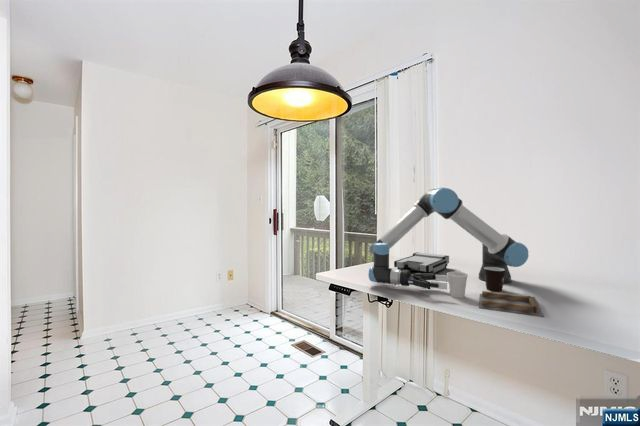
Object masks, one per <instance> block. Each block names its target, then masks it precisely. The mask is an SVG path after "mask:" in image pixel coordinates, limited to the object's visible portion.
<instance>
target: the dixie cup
mask: <svg viewBox="0 0 640 426" xmlns="http://www.w3.org/2000/svg"><path fill="white" fill-rule="evenodd" d="M446 274H447V276H448V281H449V282H448V286H449V296H450V297H451V298H453V299H454V298H456V299H463V298H465V295H466V287H467V281H468V276H469V274H468V273H465V272H462V271H448V272H447V273H446Z"/></svg>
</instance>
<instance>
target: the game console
mask: <svg viewBox="0 0 640 426" xmlns="http://www.w3.org/2000/svg"><path fill="white" fill-rule="evenodd" d="M449 263H450V255H443V254H435V253H429V252H427V253H426V252H425V253H424V252H419V251H418V252H417V251H416V252H413V253H412V255H409V256H407V257H404V258H401V259H398V260H395V261H394V262H393V267H394V268H396V269H401V270H409V271H410V273H412V272H414V271H418V273H436V274H438V272H439V273H440V271H441V272H442V270H443V271H444V269H445V270H447V267H448V264H449Z"/></svg>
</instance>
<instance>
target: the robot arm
mask: <svg viewBox="0 0 640 426" xmlns="http://www.w3.org/2000/svg"><path fill="white" fill-rule="evenodd" d="M463 203H464V202H463V200H462V199H460V198H459V196H458V194H457V193H456V192H455V191H454V190H453V189H451V188H447V187H439V188H432V189H429V190H428V191H426V192H425V193H424V194H422V196H421V197H420V198H419V199H417V201H416V202H415V203H414V204H413V207H412V208H411V209H410V210H409V211H408V212H407V213H405V214H404V215H403V217H402V218H400V219H399V220H398V221H397V222H396V223H395V224H394V225H393V226H391V228H389V229H388V230H387V231H386V232H385V233H384V234H383V235H382V236H381V237H380V238H379V239H378V240H377V241H376V242H374V243H372V244H370V246H369V249H368V250H369V254H370V256H371V257H372V258H373V266H370V267H369V269H368V272H367V273H368V274H367V275H368V278H369V281H370V282H373V283H378V284H388V285H394V287H395V286H400V285H401V286H402V287H403V286H405V287H409V286H410V285H411V286H415V287H420V288H423V289H425V290H431V288H432V289H439V290H447V291H448V283H449V281H448V275H443V274H437V273H419V272H414V273H413V274H411V272H410V271H409V270H401V269H397V268H390V249H392V247H393V246H395V245H396V244H397V243H398V242H399V241H400V240H401V239H402V238H403V237H405V236H406V234H408V233H409V232H410V231H411V230H412V229H413V228H415V227H416V225H418V224H419V223H420V222H421V221H422V220H423V219H424V218H428V217H429V216H430V215H431V214H433V213H436V214H438V215H439V216H441V217H442V218H443V219H445V220H451V221H453V223H456V225H458V227H460V228H462V229H463V230H464V231H466V232H467V233H468V234H469V235H470V236H472V237H473V238H474V239H476V240H477V241H479V242H480V243H481V244H482V257H481V258H482V260H481V261H482V264H481V267H480V269H479V271H478V279H479V280H481V281H484V282H486V280H485V271H484V268H485V267H497V268H502V269H505V274H504V281H503V284H506V283H507V284H508V283H509V284H510V283H511V282H512V275H511V273H510V270H509V267H513V268H518V267H522V266H523V265H525V263H526V262H527V261H528V259H529V257H530V256H529V253H530V252H529V249H528V247H527V246H526V245H525V244H524V243H521V242H519V241H516V240H515V239H513V238H512V237H510V236H509V235H508V234H505V233H504V234H501V233H500V232H498V231H497V230H496V229H494V228H493V227H492V226H491V225H489V224H488V223H487V222H485V221H484V220H483V219H482V218H480V217H479V216H477V215H476V214H475V213H474V212H473V211H471V210H469V209H468V208H467V207H466V206H464V205H463Z"/></svg>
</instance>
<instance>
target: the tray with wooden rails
mask: <svg viewBox="0 0 640 426" xmlns="http://www.w3.org/2000/svg"><path fill="white" fill-rule="evenodd" d="M481 292H482V293H479V298H478V308H479V309H484V310H492V311H496V312H497V311H499V312H505V313H510V314H511V313H513V314H518V315H519V314H521V315H527V316H533V317H541V318H545V315H544V313H543V311H542V309H541V307H540V304H539V302H538V301H537V299H536V297H535V296H530V295H524V294H523V295H519V294H514V293H505V292H504V293H503V292H493V291H489V290H482V291H481Z"/></svg>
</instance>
